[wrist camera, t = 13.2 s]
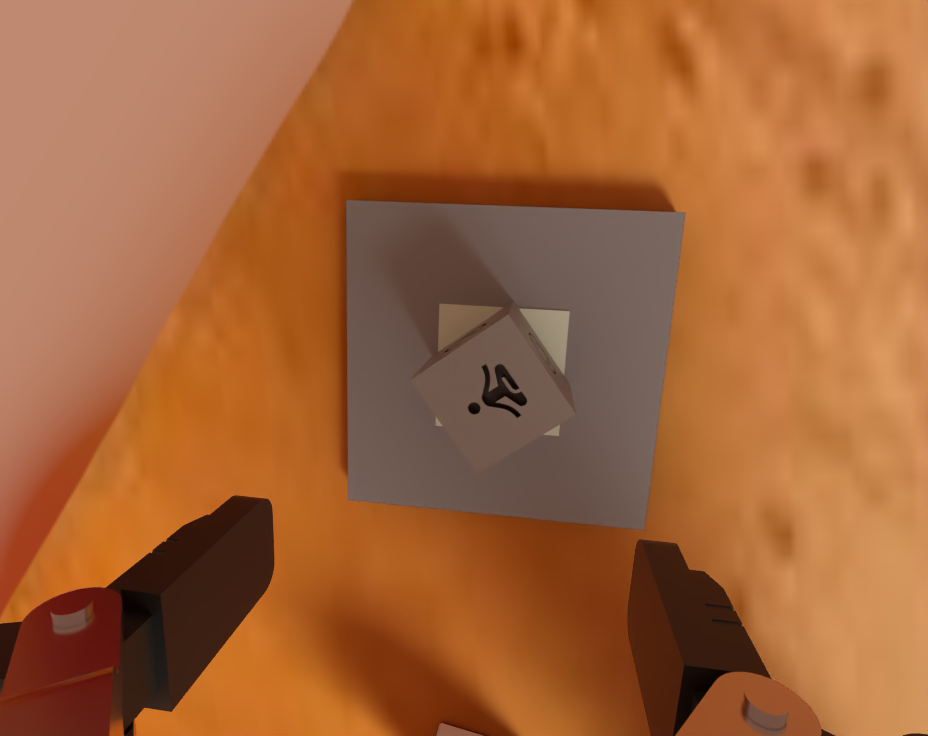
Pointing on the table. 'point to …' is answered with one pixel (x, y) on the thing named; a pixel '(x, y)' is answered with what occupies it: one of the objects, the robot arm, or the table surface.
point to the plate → (555, 323)
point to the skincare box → (453, 731)
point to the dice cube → (495, 388)
